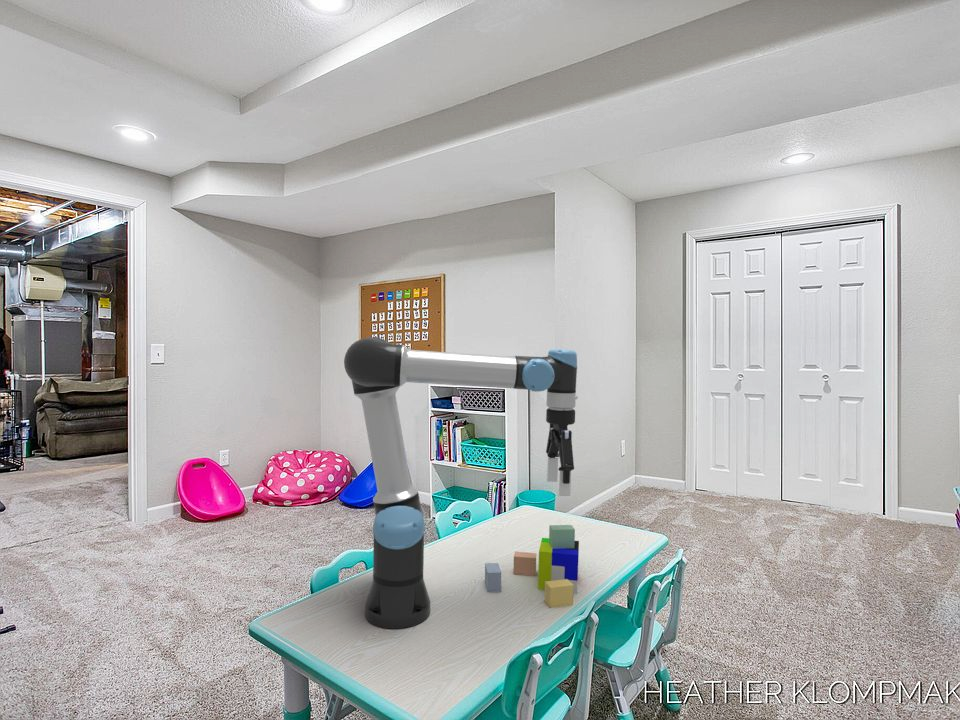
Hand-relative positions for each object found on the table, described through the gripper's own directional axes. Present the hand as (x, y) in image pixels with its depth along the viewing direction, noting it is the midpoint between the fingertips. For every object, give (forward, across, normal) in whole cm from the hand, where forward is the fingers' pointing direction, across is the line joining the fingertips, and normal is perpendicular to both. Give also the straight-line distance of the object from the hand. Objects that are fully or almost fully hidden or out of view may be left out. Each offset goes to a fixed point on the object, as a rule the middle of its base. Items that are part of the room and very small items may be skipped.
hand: (558, 488), depth 147 cm
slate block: (+26, -2, +17) cm, 31 cm away
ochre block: (+25, -12, +2) cm, 28 cm away
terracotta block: (+25, +6, +7) cm, 27 cm away
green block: (+15, 0, -1) cm, 15 cm away
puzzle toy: (+26, 0, -1) cm, 26 cm away
